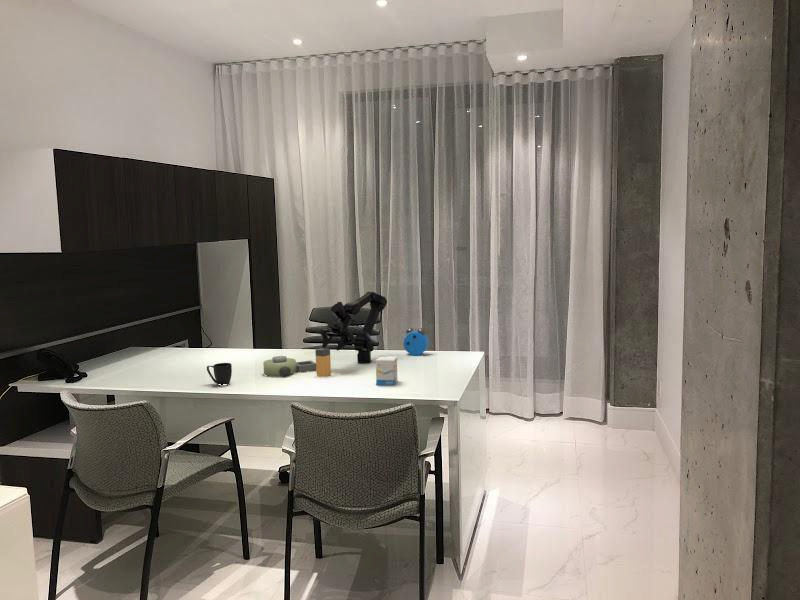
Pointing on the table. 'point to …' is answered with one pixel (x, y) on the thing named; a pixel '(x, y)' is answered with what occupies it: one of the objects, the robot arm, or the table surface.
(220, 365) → the mug
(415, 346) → the alarm clock
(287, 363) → the mower deck
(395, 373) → the ink box
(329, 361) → the orange bottle
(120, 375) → the table surface
